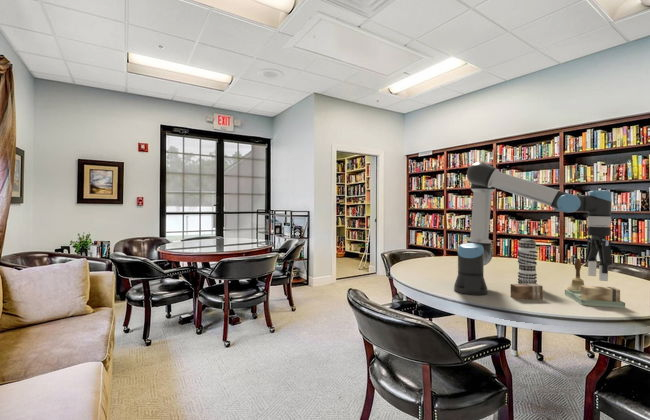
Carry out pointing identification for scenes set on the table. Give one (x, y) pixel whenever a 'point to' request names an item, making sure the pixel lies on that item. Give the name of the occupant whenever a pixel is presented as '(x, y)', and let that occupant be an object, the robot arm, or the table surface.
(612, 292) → the oak bar
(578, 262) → the hand bell
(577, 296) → the pale green flat frame
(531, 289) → the walnut bar
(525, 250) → the decorative candle
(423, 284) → the table surface
